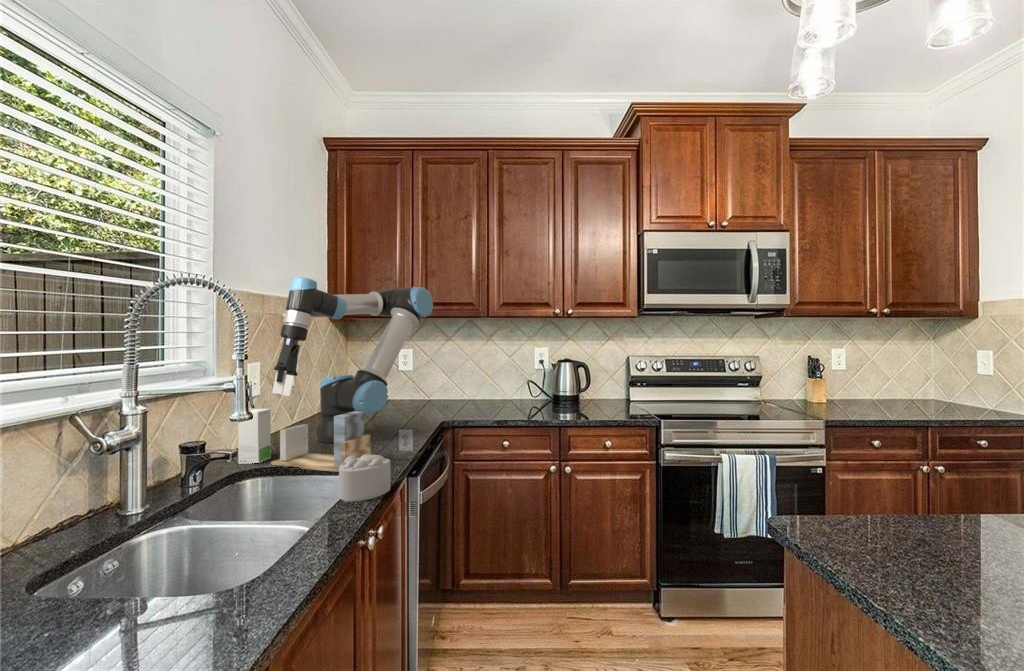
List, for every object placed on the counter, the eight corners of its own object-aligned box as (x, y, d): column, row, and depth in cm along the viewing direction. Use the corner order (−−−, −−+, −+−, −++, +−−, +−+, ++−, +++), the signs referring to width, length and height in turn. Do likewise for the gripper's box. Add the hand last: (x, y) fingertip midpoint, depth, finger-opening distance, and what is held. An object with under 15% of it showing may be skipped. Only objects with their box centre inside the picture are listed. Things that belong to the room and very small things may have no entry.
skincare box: (258, 464, 155) (258, 412, 155) (236, 464, 156) (236, 411, 155) (271, 458, 164) (271, 407, 164) (250, 457, 164) (250, 407, 164)
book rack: (300, 456, 166) (300, 407, 166) (370, 461, 159) (370, 411, 159) (270, 466, 154) (270, 414, 154) (345, 472, 147) (345, 417, 147)
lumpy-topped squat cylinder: (396, 487, 132) (395, 453, 132) (365, 503, 120) (365, 465, 120) (361, 484, 136) (360, 450, 136) (327, 499, 123) (327, 462, 123)
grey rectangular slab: (302, 453, 164) (302, 424, 164) (308, 453, 164) (308, 424, 164) (280, 460, 155) (280, 429, 155) (285, 461, 154) (285, 430, 154)
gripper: (289, 330, 175) (276, 394, 171) (274, 317, 151) (259, 390, 147) (313, 334, 176) (300, 397, 173) (302, 321, 153) (287, 394, 149)
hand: (281, 394), depth 160 cm, fingers open, 13 cm apart
